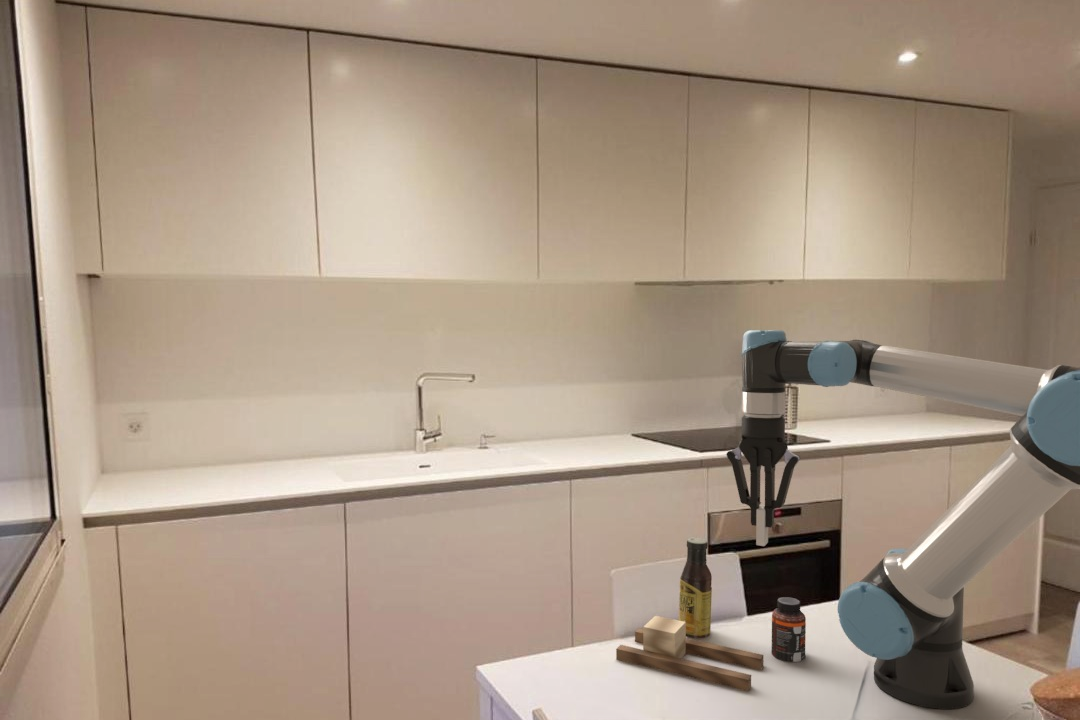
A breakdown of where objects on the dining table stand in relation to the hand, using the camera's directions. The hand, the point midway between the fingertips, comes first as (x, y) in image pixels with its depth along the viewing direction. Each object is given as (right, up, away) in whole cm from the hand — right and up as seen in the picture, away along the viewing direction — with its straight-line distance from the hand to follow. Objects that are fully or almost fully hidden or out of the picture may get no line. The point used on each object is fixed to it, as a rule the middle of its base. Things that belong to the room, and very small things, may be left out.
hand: (762, 543), depth 132 cm
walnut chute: (-13, -23, -1) cm, 26 cm away
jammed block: (-18, -21, +2) cm, 28 cm away
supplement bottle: (+6, -23, +2) cm, 23 cm away
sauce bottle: (-10, -22, +13) cm, 27 cm away
